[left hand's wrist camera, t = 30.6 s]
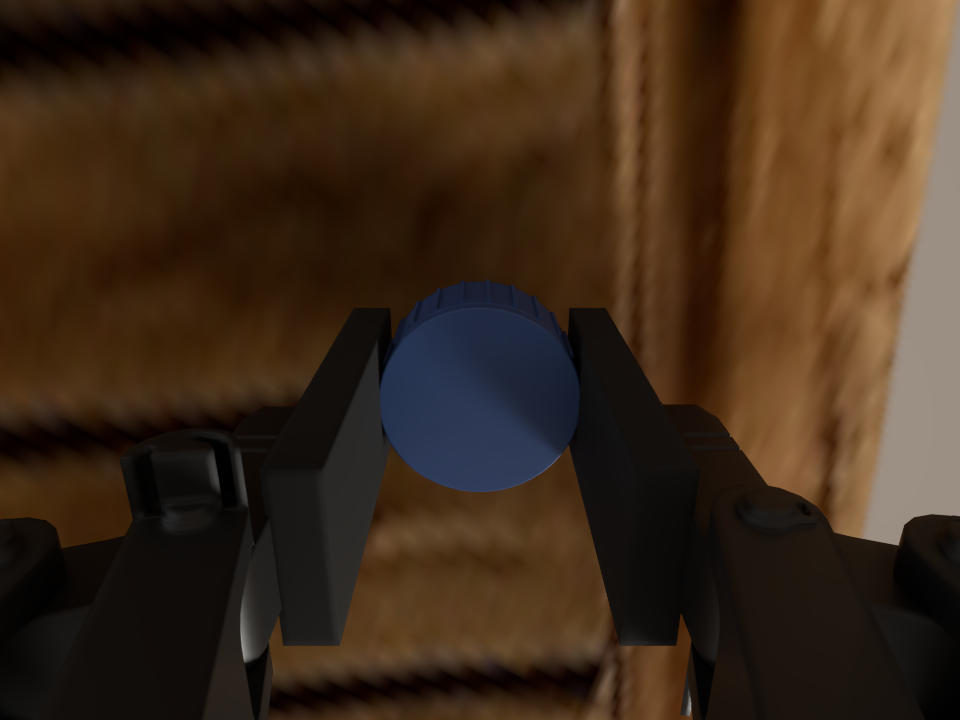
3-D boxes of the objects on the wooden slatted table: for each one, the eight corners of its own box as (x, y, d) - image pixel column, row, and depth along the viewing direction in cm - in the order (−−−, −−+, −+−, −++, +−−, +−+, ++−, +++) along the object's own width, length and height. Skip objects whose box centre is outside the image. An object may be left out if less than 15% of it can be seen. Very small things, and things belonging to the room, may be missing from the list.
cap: (350, 373, 14) (333, 411, 13) (472, 238, 13) (472, 260, 12) (485, 480, 15) (485, 528, 14) (610, 361, 14) (627, 398, 13)
